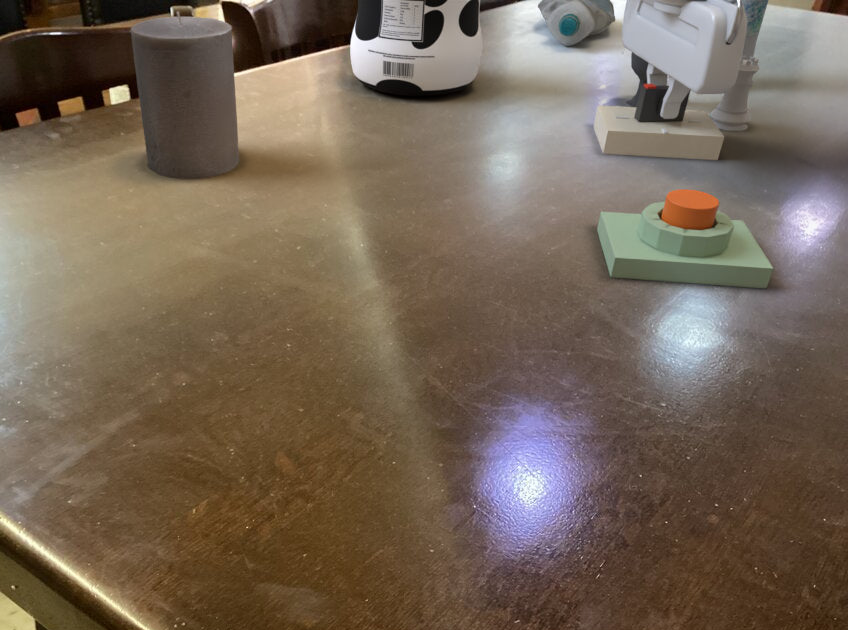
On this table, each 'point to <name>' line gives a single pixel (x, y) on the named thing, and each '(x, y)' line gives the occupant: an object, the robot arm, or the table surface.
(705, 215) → the button
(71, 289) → the table surface
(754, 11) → the bottle
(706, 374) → the table surface
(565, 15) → the detergent
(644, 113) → the black plate
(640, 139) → the cream flat block
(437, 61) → the milk container
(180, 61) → the pillar candle
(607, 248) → the button block
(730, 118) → the rook chess piece
